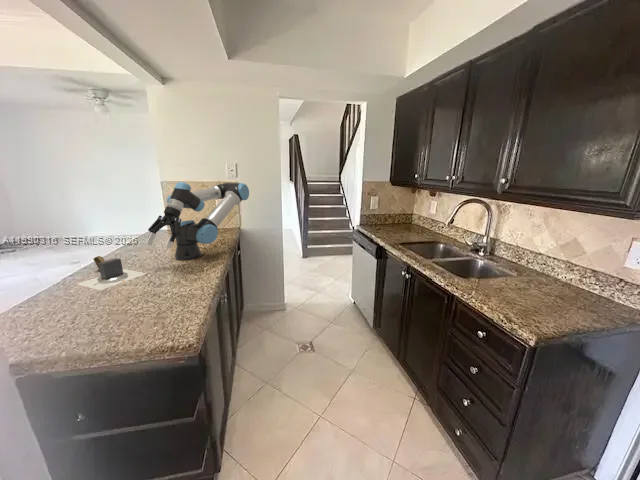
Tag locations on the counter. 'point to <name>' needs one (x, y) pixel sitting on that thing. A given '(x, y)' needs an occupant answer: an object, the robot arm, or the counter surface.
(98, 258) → the rock
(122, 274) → the dial
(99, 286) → the dial panel
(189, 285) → the counter surface
